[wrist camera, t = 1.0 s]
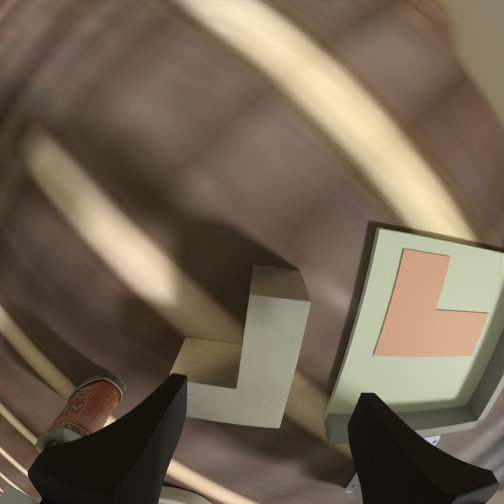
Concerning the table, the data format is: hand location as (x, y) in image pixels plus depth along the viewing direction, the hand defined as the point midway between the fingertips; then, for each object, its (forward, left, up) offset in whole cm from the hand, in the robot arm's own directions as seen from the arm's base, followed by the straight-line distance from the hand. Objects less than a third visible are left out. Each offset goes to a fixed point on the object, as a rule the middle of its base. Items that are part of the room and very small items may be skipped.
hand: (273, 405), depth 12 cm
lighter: (-12, +14, -10) cm, 21 cm away
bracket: (-2, +2, -9) cm, 10 cm away
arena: (-2, -14, -9) cm, 17 cm away
